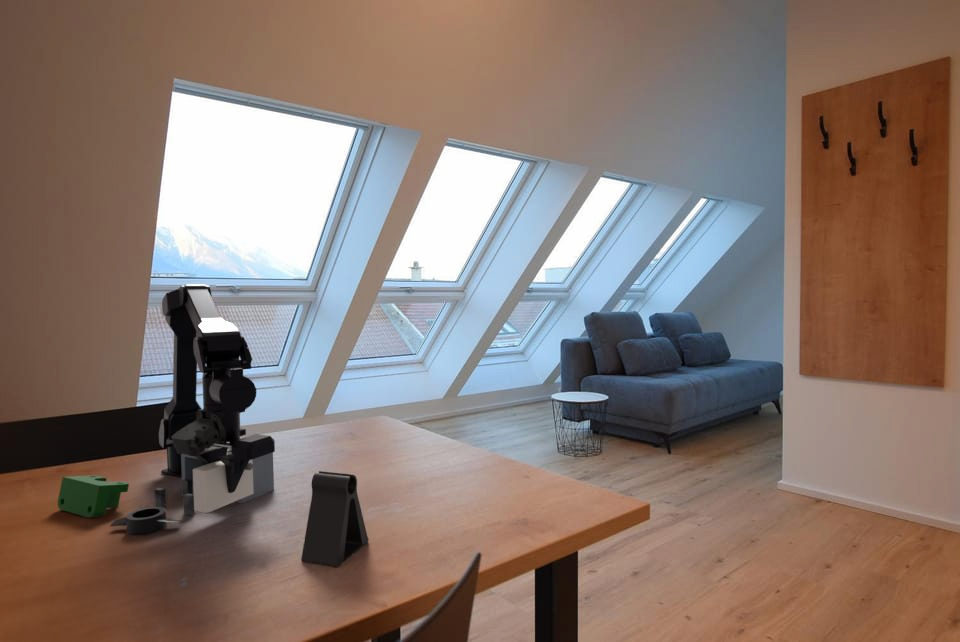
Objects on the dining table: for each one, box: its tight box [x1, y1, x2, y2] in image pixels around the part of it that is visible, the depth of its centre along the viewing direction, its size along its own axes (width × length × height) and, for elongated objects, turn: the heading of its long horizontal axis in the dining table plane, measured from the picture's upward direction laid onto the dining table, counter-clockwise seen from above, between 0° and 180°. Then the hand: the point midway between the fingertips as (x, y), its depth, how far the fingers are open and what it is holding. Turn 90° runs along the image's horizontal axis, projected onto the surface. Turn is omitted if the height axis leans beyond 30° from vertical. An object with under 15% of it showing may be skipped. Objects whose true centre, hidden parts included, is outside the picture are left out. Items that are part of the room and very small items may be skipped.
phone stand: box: [300, 470, 369, 568], centre depth 89 cm, size 9×6×12 cm, turn 161°
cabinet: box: [181, 450, 275, 504], centre depth 117 cm, size 16×8×8 cm, turn 65°
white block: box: [193, 460, 254, 514], centre depth 103 cm, size 10×4×7 cm, turn 155°
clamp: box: [57, 475, 130, 518], centre depth 108 cm, size 12×6×9 cm, turn 57°
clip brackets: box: [154, 479, 196, 517], centre depth 109 cm, size 9×7×4 cm
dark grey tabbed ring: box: [109, 506, 183, 537], centre depth 99 cm, size 8×10×3 cm
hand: (224, 491), depth 103 cm, fingers closed on white block, 3 cm apart
